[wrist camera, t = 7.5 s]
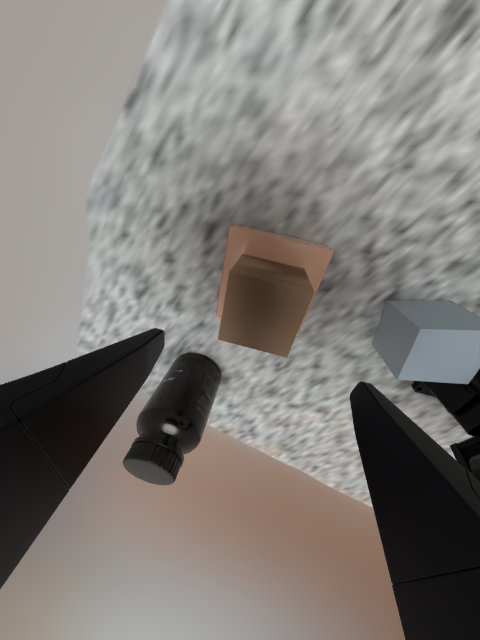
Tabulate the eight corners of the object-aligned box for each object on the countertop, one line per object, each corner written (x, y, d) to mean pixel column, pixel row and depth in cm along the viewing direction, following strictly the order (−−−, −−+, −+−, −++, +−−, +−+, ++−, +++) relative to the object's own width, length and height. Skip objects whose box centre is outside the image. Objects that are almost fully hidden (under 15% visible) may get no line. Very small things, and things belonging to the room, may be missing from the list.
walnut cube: (304, 268, 15) (314, 292, 11) (284, 321, 18) (286, 357, 14) (242, 253, 15) (229, 271, 11) (232, 308, 18) (217, 339, 14)
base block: (325, 244, 17) (334, 251, 14) (294, 321, 21) (296, 336, 18) (236, 223, 17) (229, 226, 15) (223, 303, 21) (215, 316, 19)
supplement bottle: (176, 345, 25) (107, 441, 15) (226, 362, 25) (192, 469, 15) (171, 379, 29) (113, 476, 18) (215, 394, 29) (181, 499, 18)
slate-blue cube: (449, 300, 17) (506, 331, 13) (426, 345, 20) (468, 384, 15) (386, 300, 18) (420, 328, 14) (371, 343, 20) (397, 379, 16)
